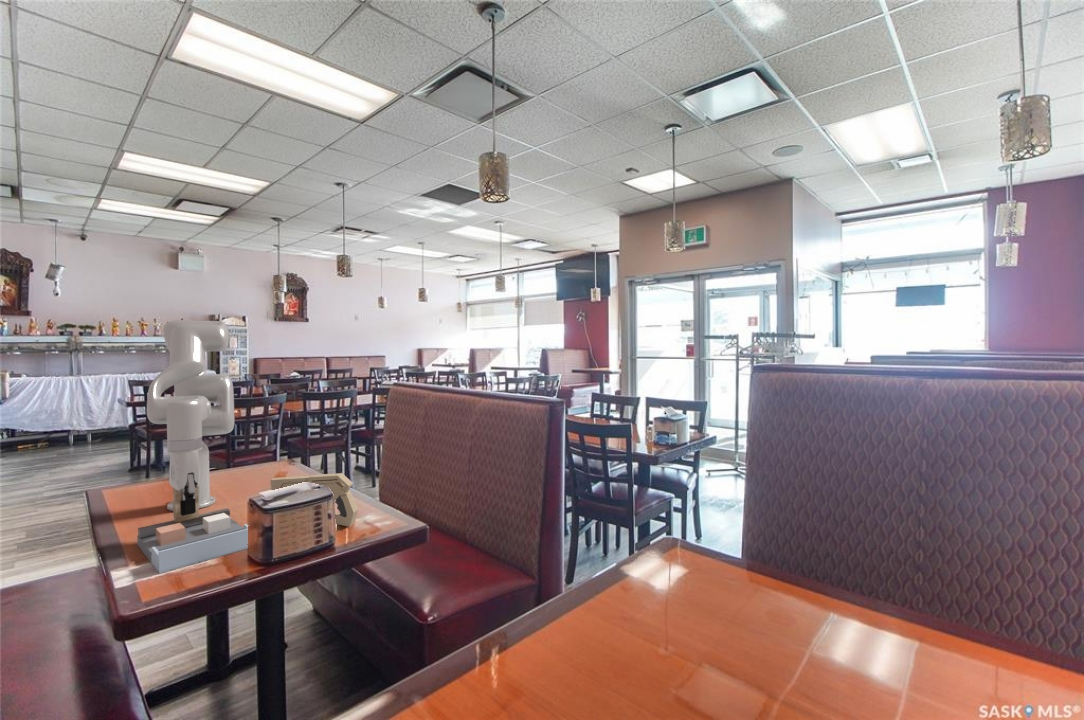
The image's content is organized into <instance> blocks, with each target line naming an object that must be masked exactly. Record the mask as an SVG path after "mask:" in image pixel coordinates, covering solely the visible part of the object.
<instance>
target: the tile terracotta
mask: <svg viewBox="0 0 1084 720" xmlns="http://www.w3.org/2000/svg"><path fill="white" fill-rule="evenodd" d="M181 540H185V527H184V526H183V525H182V524H181V523H177V524H172V525H168V526H164V527H159V528H156V541H157V542H158V543H159V544H160V545H165V544H169V543H173V542H177V541H181Z"/></svg>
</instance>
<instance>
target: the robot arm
mask: <svg viewBox="0 0 1084 720" xmlns="http://www.w3.org/2000/svg"><path fill="white" fill-rule="evenodd" d="M228 328H229V327H228V326H227V324H226V323H225V322H224V321H222V320H221V321H219V320H194V319H192V320H191V319H190V320H189V319H188V320H187V319H179V320H171V321H168V322H167V323H165V324H164V326H163V331H162V332H163V338H164V342H165V345H166V347H167V350H168V353H169V365H168V367H166V368H165V369H163V370H162V371H161V372H160V373H159V374H157V375H156V377H154V379H153V380H152V382H151V383H150V385H149V387H148V390H147V391H148V392H147V398H146V399H147V400H146V416H147V419H148V420H149V422H150V423H152V424H155V425H166V430H167V431H166V438H167V440H166V441H167V442H166V443H167V446H166V447H167V453H168V454H170V456H169V470H168V471H169V478H168V481H169V482H168V484H169V486H170V487H172V489H173V488H174V489H176V490H178V491H180V490H181V491H182V501H180V504H181V515H182V516H184V515H188V514H193V513H195V512H196V505H195V487H196V488H197V487H198V491H199V509H203V508H205V507H208V506H211V505H213V504H214V503H216V497H215V496H214V495H211V494H210V493H211V492H210V450H209V447H208V445H207V444H206V443H205V442H204V441H203V437H204V436H205V437H206V436H218V435H227V434H230V433H231V432H232V431H233V430H234V427H235V397H234V396H235V395H234V394H235V393H234V384H233V381H232V378H231V377H230V376H229V375H227V374H221V373H217V374H216V373H212V374H211V373H207V361H206V359H205V353H206V352H224V351H226V350H227V348H228V346H229V339H230V338H229V336H230V334H229V329H228ZM172 386H173V387H174V391H173V392H174V395H173V396H161V395H162V394H163V393H164V392H165V391H167V390H168V389H169V388H171V387H172ZM211 404H216V405H211ZM185 486H188V488H184V487H185ZM185 491H188V492H186V493H185ZM166 508H167V510H168V511H171V512H173V500H172V501H170V502H168V503H167V505H166Z"/></svg>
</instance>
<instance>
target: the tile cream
mask: <svg viewBox="0 0 1084 720" xmlns="http://www.w3.org/2000/svg"><path fill="white" fill-rule="evenodd" d="M230 518H231V516H230V517H229V516H228V515H226V514H225V513H221V514H217V515H212V516H208V517H203V529H204V530H205V531H206V532H207V533H208V534H209V533H213V532H217V531H221V530H225V529H229V528H230Z"/></svg>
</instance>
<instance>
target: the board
mask: <svg viewBox="0 0 1084 720" xmlns="http://www.w3.org/2000/svg"><path fill="white" fill-rule="evenodd" d="M240 530H244V526H243V525H241V524H239V523H238V522H236V521H235V520H234V519H233V518H231V517H230V528H229V529H225V530H221V531H217V532H213V533H209V534H208V533H207V532H206V531H205V530H204V529H203V523H201V524H197V525H193V526H188V527H185V540H181V541H177V542H173V543H169V544H165V545H160V544H159V543H158V542H157V541H156V534H154V535H150V536H146V537H142V538H140V537H139V536H138V535H137V536H136V537H137V542H136V543H137V547H138V548H139V549H140V550H141V552H142V553H143V554H144V556H145V557H146V558H147V559H148V561H149V562H150V563H151V555H152V547H156V549H157V550H158V551H162V550H166V549H170V548H174V547H177V546H181V545H185V544H189V543H193V542H197V541H201V540H205V539H209V538H213V537H217V536H220V535H224V534H228V533H232V532H236V531H240Z"/></svg>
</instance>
